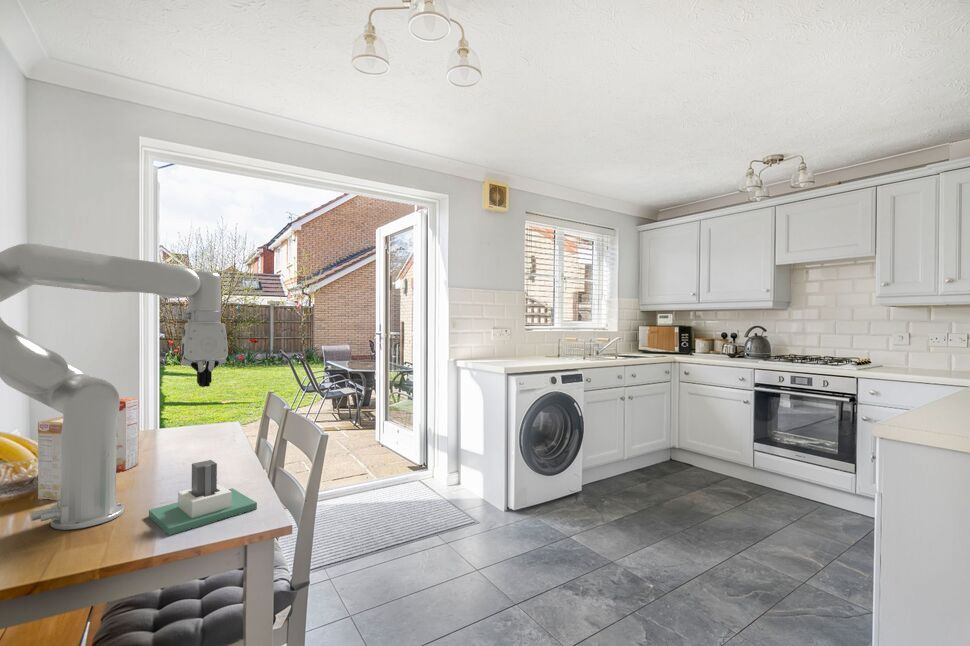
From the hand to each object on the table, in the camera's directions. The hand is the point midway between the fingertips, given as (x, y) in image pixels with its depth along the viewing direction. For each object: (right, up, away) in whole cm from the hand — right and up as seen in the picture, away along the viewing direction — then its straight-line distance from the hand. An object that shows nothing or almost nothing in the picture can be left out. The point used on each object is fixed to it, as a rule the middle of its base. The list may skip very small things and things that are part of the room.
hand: (204, 386), depth 123 cm
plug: (+10, -26, -16) cm, 32 cm away
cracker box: (-37, -27, +14) cm, 48 cm away
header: (+10, -26, -16) cm, 32 cm away
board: (+10, -27, -16) cm, 33 cm away
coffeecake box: (-31, -27, -3) cm, 41 cm away
